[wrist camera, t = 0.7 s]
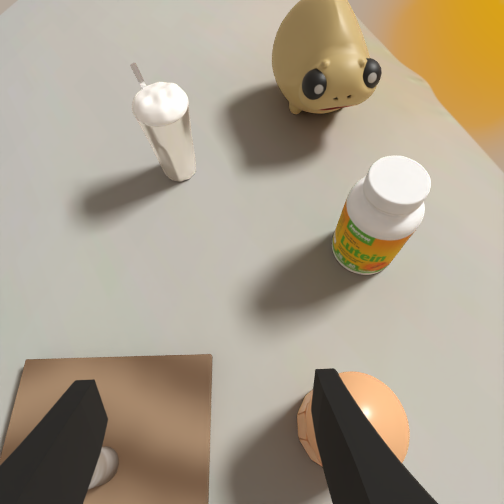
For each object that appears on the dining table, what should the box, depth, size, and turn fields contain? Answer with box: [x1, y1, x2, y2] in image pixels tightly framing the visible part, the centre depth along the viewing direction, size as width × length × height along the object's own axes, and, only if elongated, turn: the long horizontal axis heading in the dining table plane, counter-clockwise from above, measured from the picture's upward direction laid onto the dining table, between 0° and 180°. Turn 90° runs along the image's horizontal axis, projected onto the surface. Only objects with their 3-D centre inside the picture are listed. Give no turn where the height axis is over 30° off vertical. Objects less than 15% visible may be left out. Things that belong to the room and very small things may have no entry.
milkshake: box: [130, 63, 196, 182], centre depth 31 cm, size 5×5×10 cm
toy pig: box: [272, 0, 381, 114], centre depth 35 cm, size 10×12×11 cm
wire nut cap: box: [297, 372, 409, 467], centre depth 22 cm, size 6×6×6 cm
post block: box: [0, 354, 212, 504], centre depth 22 cm, size 14×14×5 cm
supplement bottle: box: [332, 156, 431, 275], centre depth 27 cm, size 5×5×10 cm
